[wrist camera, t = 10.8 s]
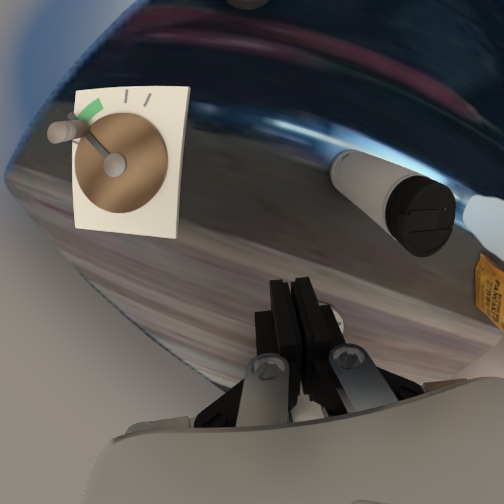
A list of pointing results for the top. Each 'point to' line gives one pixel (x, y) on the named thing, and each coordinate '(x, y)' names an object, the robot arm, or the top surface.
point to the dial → (116, 159)
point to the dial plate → (173, 132)
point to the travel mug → (397, 200)
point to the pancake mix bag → (490, 290)
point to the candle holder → (247, 4)
